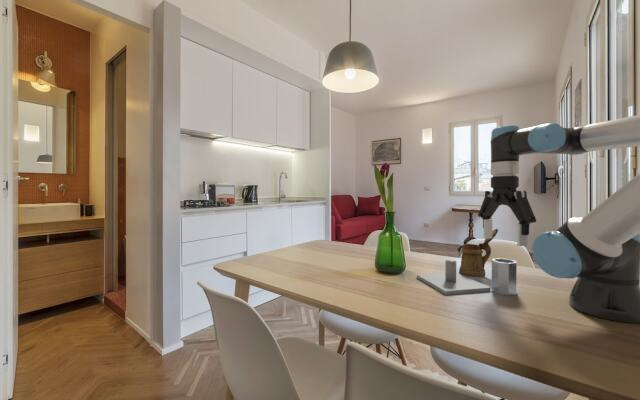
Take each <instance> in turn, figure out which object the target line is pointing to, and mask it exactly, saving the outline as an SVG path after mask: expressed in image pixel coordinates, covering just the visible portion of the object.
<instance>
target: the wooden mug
mask: <svg viewBox="0 0 640 400" xmlns="http://www.w3.org/2000/svg"><path fill="white" fill-rule="evenodd" d="M498 233H499V229H498V228H496V229H492V238H489V239H485V238H484V241H483V242H482V243H478V244H473V243H463V245H462V248H461V259H460V267H459V269H458V272H459V273H458V274H460V275H463V276H468V277H484V276H485V275H486V270H485V265H486V263H487V262H488V260H489V258H490V256H491V254H492V249H491V246H490V244H489V243H490V242H491V241H492V240H493V239H494V238H495V237H496V235H497V234H498ZM483 250H484V251H485V254H484V255H483V253H484V251H483Z"/></svg>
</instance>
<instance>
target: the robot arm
mask: <svg viewBox="0 0 640 400" xmlns="http://www.w3.org/2000/svg"><path fill="white" fill-rule="evenodd" d="M633 147H640V114H637V115H632V116H625V117H622V118H616V119H611V120H605V121H600V122H595V123H590V124H586V125H579V126H574V127H563V126H562V125H560V124H559V123H557V122H551V123H543V124H539V125H536V126H532V127H527V128H522V129H520V127H519V126H518V125H515V124H513V125H512V124H510V125H509V124H508V125H503V126H501V125H500V126H497V127H495V128H493V129H492V131H491V137H490V175H491V177H490V188H491V189H492V190H486V191H485V192H484V198H483V202H482V204H481V206H480V209H479V211H478V213H477V216H478V217H479V218H481V219H482V228H483V239H484V240H485V239H489V238H492V231H493V218H492V217H493V216H494V214H495V213H496V211H497V210H498V208H499V207H500V206H502V205H503V206H507V207H509V208H510V210H511V211H512V213H513V215H514V216H515V217H516V219H517V220H518V223H517V227H516V228H517V231H516V234H517V237H516V238H517V240H516V242H517V243H516V244H517V245H516V246H518V247H527V246H528V236H529V234H530V224H533V223H536V222H537V218H536V216H535V214H534V211H533V209H532V207H531V204H530V202H529V200H528V197H527V196H528V195H527V191H526V190H517V188H519V187H520V184H519V183H520V181H519V180H520V179H519V178H520V177H519V176H518V174H519V170H520V166H519V164H520V162H519V161H520V156H522V155H531V154H548V155H549V154H557V155H558V154H559V155H570V156H571V155H572V156H573V155H575V156H576V155H582V154H586V153H588V152H596V151H598V152H599V151H607V150H608V151H609V150H614V149H615V150H616V149H625V148H633ZM531 249H532V251H533V252H532V256H533V259H534V261H535V262H536V264H537V266H538V267H539V268H540V269H541V270H542V271H543V272H544V273H546V274H547V275H549V276H550V277H553V278H557V279H571V280H572V279H576V278H577V279H576V281H575V283H574V286H573V287H572V289H571V291H570V294H569V298H568V302H569V303H568V304H569V306H570V307H572V308H574V309H575V310H577V311H578V312H579V311H580V312H582V313H585V314H587V315H590V316H593V317H596V318H601V319H605V320H610V321H615V322H621V323H631V324H640V172H638V174H636V175H635V176H634V177H633V178H631V179H630V180H628V182H626V183H625V184H624V185H622V186H621V187H620V188H618V189H617V190H616V191H615V192H613V194H610V196H609V197H606V198H605V200H603V201H602V202H601V203H599V204H598V205H597V206H596V207H594V208H593V209H592V210H590V211H589V212H588V213H587V214H585V215H584V216H573V217H570V218H569V219H568V220H567V221H565V222H564V223H563V224H562V225H560V226H559V227H558V228H557V229H555V230H547V231H545V232H542V233H540V234H538V235H537V236H536V237H535V238H534V240H533V242H532V247H531Z"/></svg>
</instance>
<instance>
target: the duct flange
mask: <svg viewBox="0 0 640 400" xmlns="http://www.w3.org/2000/svg"><path fill="white" fill-rule="evenodd" d="M444 263H445V265H444V266H445V268H444V269H445V270H444V271H445V272H438V273H421V274H416V279H418V280H420V281H421V282H423V283H425V284H427V285H429V286H430V287H432V288H434V289H435V290H437V291H438V292H440V293H442V294H443V295H446V296H449V295H450V296H451V295H462V294H473V293H483V292H484V293H486V292H492V287H490V286H487V285H486V284H483V283H481V282H478V281H477V280H474V279H472V278H470V277H467V276H466V275H464V274H461V273H458V272H457V260H455V259H445V262H444Z"/></svg>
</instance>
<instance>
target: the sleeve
mask: <svg viewBox="0 0 640 400" xmlns="http://www.w3.org/2000/svg"><path fill="white" fill-rule="evenodd" d="M517 262H518V261H517V260H514V259H511V258H510V259H509V258H502V257H498V258H491V292H493V293H496V294H498V295H503V296H504V295H505V296H517Z"/></svg>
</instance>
